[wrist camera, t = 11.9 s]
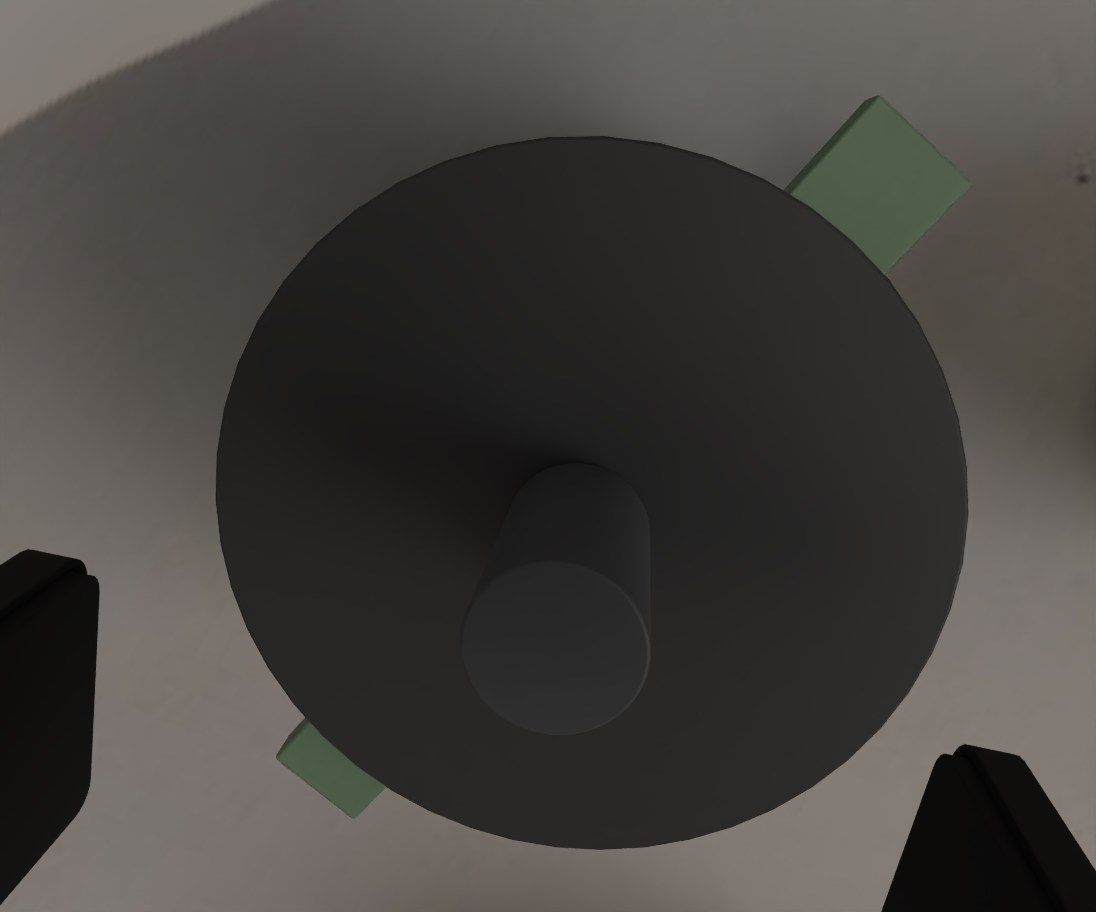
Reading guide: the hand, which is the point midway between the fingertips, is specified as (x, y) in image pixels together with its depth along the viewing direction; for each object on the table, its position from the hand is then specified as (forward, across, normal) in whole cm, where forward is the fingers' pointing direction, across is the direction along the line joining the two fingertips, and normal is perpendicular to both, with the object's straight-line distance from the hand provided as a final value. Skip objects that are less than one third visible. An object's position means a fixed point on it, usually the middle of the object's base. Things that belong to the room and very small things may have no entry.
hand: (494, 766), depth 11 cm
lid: (+9, 0, 0) cm, 9 cm away
